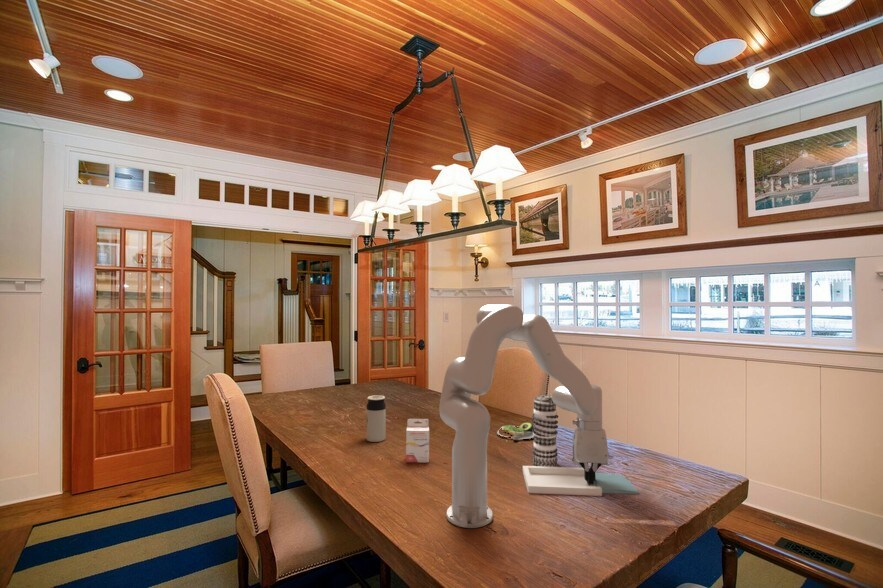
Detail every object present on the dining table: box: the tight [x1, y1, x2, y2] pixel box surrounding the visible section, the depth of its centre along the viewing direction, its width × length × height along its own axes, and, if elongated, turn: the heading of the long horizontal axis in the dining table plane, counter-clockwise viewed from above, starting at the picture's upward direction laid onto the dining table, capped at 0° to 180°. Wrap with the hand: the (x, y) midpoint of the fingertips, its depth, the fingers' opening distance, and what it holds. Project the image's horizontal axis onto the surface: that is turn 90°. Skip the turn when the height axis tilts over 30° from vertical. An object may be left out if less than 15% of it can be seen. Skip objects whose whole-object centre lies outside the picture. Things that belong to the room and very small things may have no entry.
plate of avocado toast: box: [496, 421, 535, 441], centre depth 187 cm, size 19×18×5 cm
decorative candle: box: [531, 394, 559, 467], centre depth 150 cm, size 9×9×25 cm
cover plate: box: [594, 471, 640, 495], centre depth 134 cm, size 12×11×2 cm
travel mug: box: [366, 394, 387, 443], centre depth 181 cm, size 8×8×18 cm
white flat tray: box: [522, 465, 603, 497], centre depth 135 cm, size 16×22×3 cm
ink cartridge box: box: [405, 418, 430, 463], centre depth 157 cm, size 9×5×15 cm, turn 92°
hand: (589, 482), depth 134 cm, fingers closed
